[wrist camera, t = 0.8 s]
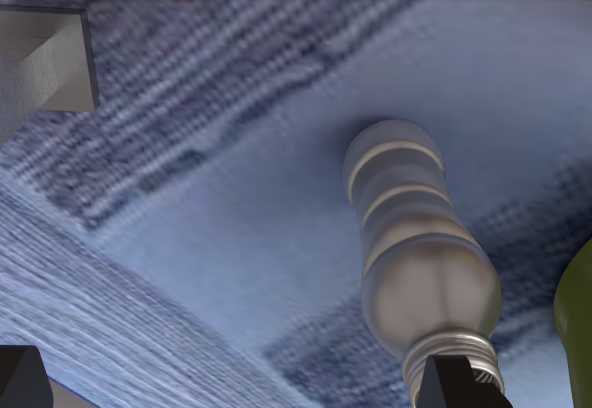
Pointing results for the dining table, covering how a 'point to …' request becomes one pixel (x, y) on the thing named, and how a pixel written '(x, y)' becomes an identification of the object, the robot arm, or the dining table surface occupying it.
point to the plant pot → (577, 323)
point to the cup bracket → (44, 64)
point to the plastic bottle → (419, 256)
